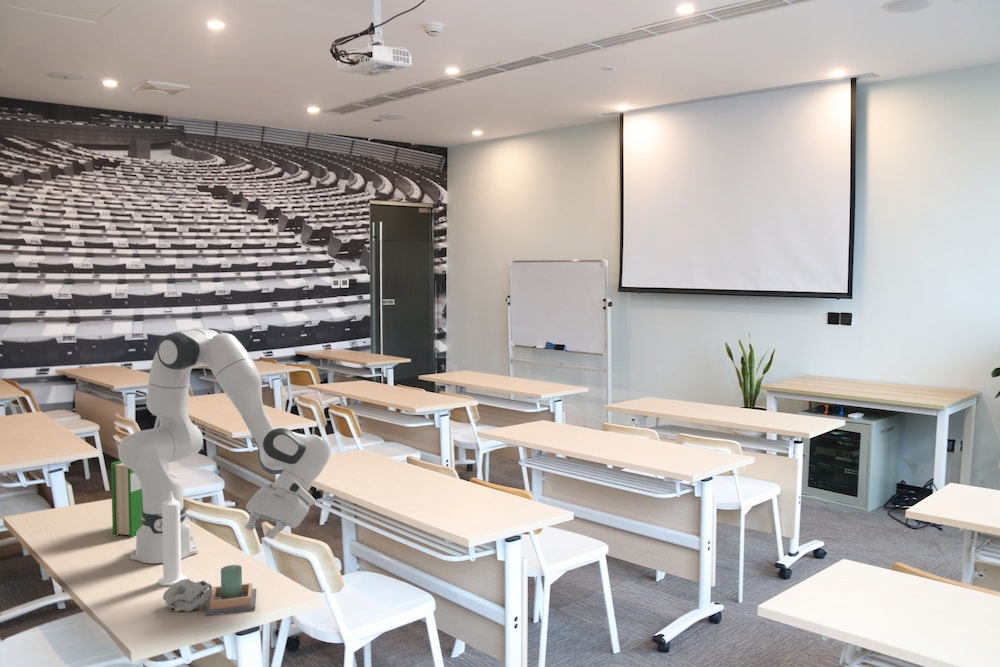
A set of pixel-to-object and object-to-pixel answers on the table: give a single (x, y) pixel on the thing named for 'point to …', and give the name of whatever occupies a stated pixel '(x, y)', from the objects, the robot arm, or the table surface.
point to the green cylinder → (231, 582)
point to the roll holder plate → (231, 601)
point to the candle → (171, 542)
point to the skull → (187, 595)
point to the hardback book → (126, 500)
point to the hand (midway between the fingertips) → (258, 533)
